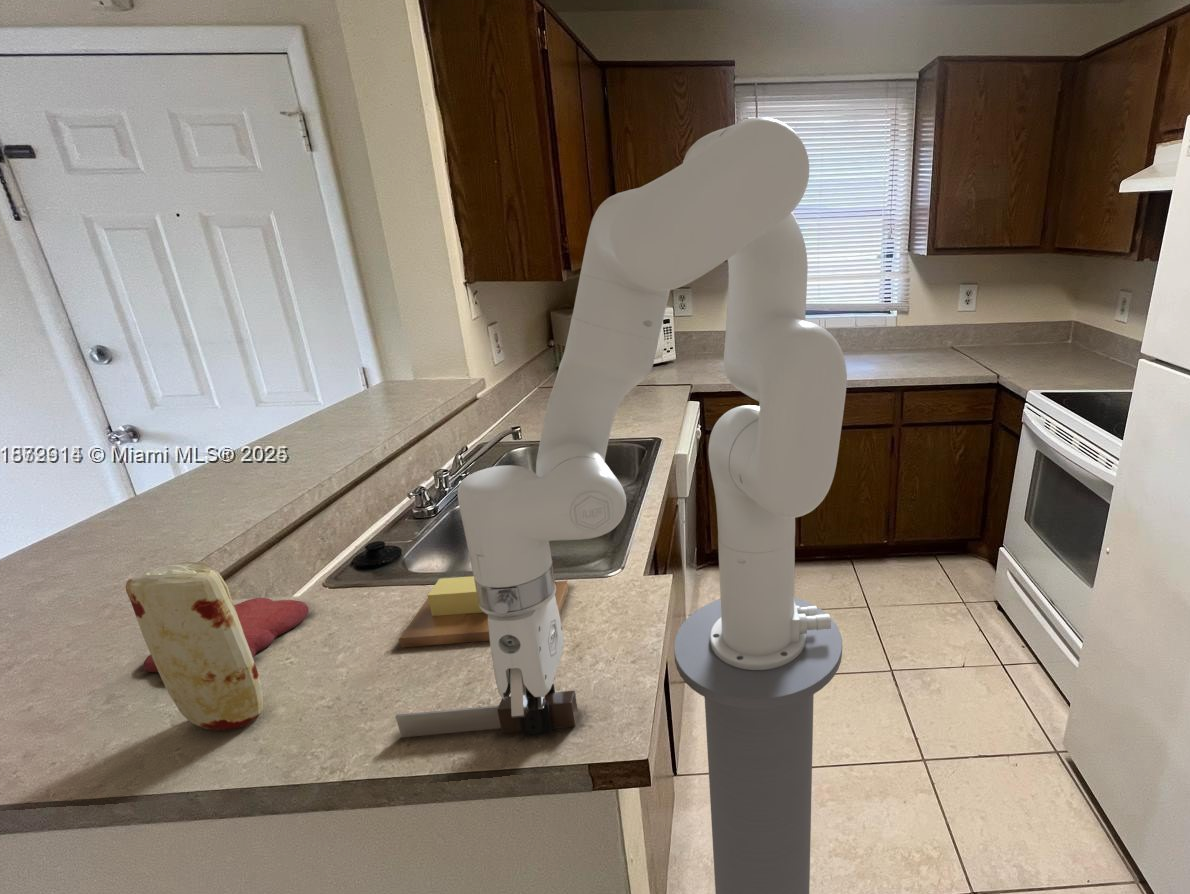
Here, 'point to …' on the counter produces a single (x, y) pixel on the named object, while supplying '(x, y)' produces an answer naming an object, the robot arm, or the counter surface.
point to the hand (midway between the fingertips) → (540, 722)
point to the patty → (261, 622)
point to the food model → (198, 644)
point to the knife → (485, 717)
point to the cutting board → (456, 625)
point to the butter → (454, 597)
